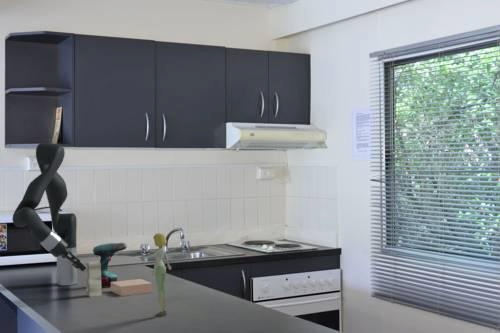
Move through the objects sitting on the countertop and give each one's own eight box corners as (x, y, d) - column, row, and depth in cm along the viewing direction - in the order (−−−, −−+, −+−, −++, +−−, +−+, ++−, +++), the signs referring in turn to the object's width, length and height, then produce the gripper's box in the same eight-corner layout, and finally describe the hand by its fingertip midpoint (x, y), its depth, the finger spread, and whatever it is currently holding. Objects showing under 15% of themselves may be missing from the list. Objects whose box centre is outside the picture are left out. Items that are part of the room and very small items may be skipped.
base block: (110, 291, 307) (110, 282, 307) (141, 287, 314) (140, 278, 314) (121, 296, 295) (121, 286, 295) (152, 292, 302) (152, 283, 302)
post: (86, 295, 299) (85, 262, 299) (98, 293, 302) (97, 261, 302) (90, 297, 295) (89, 263, 295) (101, 295, 297) (100, 262, 297)
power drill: (124, 287, 314) (123, 243, 314) (91, 287, 318) (89, 243, 317) (130, 285, 321) (129, 241, 321) (97, 284, 325) (96, 241, 325)
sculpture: (164, 311, 263) (162, 231, 262) (175, 311, 261) (173, 231, 261) (146, 318, 251) (144, 235, 250) (158, 319, 249) (156, 235, 249)
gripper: (64, 238, 285) (92, 263, 291) (55, 235, 298) (83, 259, 303) (51, 252, 283) (80, 277, 288) (43, 248, 295) (71, 273, 301)
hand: (81, 268), depth 296 cm, fingers open, 8 cm apart
